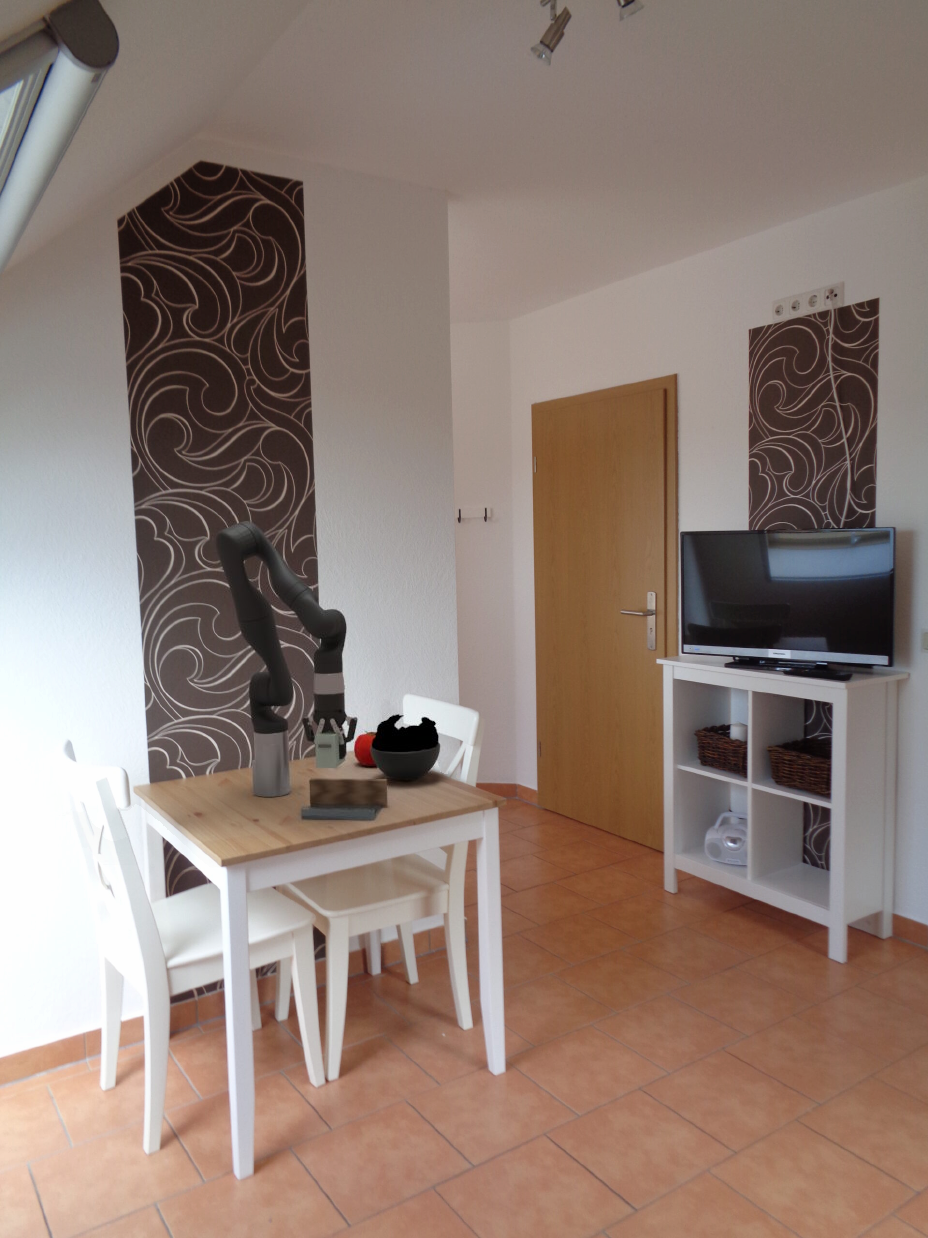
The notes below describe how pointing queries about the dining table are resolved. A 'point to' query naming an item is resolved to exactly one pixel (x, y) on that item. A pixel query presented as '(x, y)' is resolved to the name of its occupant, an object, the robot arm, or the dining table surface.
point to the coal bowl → (405, 748)
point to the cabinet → (327, 750)
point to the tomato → (364, 748)
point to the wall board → (348, 791)
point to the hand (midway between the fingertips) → (331, 758)
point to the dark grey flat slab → (341, 811)
